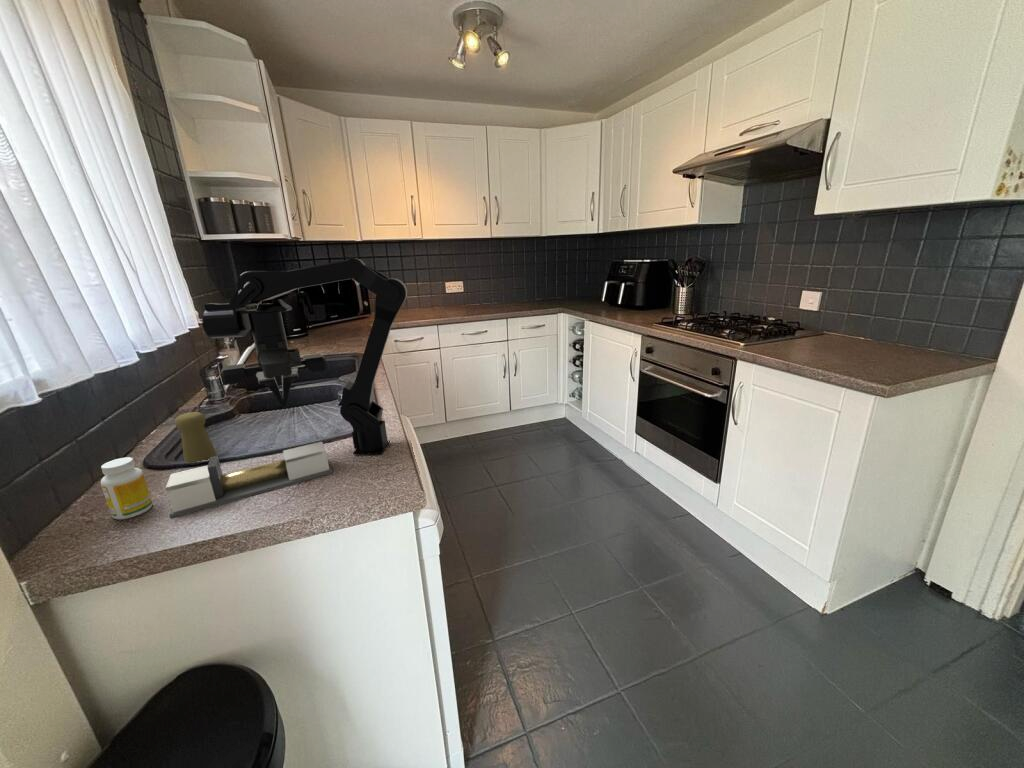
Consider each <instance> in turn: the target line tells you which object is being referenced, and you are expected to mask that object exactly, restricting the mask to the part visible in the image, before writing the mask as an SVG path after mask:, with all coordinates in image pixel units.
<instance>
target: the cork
mask: <svg viewBox="0 0 1024 768" xmlns="http://www.w3.org/2000/svg"><path fill="white" fill-rule="evenodd" d="M205 423H206V416H205V415H204V414H203V413H202V412H198V411H193V412H192V411H191V412H190V411H189V412H187V413H183V414H179V415H178V416H177V417H175V420H174V425H175V427H176V428H177V430H178V431H180V434H181V435H180V437H181V438H180V439H181V445H182V454H183V462H188V463H193V462H197V461H202V460H208V459H210V457H214V456H218V453H217V451H216V450H215V447H214V444H213V443H212V441H211V437H210V436H209V434H208V432H207V429H206V427H205ZM218 457H219V456H218Z"/></svg>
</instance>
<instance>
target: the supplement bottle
mask: <svg viewBox="0 0 1024 768" xmlns="http://www.w3.org/2000/svg"><path fill="white" fill-rule="evenodd" d="M135 465H136V463H135V461H134V458H133V457H129V456H127V457H126V456H125V457H119V458H116V459H113V460H110V461H107V462H105V463H103V464H102V465H101V466H100V468H101V471H102V474H103V477H102V478H101V480H100V486H101V489H102V491H103V494H104V497H105V500H106V504H107V506H108V509H109V512H110V514H111V517H112V518H113V519H115V520H127V519H130V518H134V517H137V516H139V515H143V514H144V513H146V512H148V511H149V510H150V509H151V508H152V506H153V501H152V500H153V499H152V497H151V493H150V491H149V486H148V484H147V481H146V478H145V474H144V472H143V470H142V469H140V468H138V467H135Z"/></svg>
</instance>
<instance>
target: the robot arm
mask: <svg viewBox="0 0 1024 768" xmlns="http://www.w3.org/2000/svg"><path fill="white" fill-rule="evenodd" d="M346 280H354V281H356V282H357V283H359V285H361V286H363V287H364V288H366V289H367V290H369V292H371V293H372V294H375V299H374V300H375V303H374V319H373V321H372V322H373V323H372V326H371V329H370V332H369V335H368V339H367V342H366V346H365V348H364V352H363V354H362V358H361V361H360V364H359V368H358V371H357V374H356V377H355V380H354V381H353V382H352V381H350V380H348V381H347V382H346V384H345V386H344V387H343V388H342V393H341V396H342V397H341V399H340V401H339V402H338V404H337V406H338V407H340V409H339V413H340V414H339V415H341V417H342V418H343V420H345V421H346V422H348V423H349V424H350V426H351V427H352V430H353V431H352V432H351V436H352V442H353V443H352V444H353V448H354V451H353V452H352V453H353V455H354V454H372V455H382V454H383V453H384V452H385V451H386V449H387V448H388V447H387V446H389V445H390V444H391V443H390V441H391V440H388V435H387V429H386V421H385V420H381V417H382V416H383V411H384V408H383V407H382V406H381V405H379V404H378V403H377V402H375V401H373V399H374V398H373V397H374V391H375V390H374V389H375V388H374V387H375V380H376V376H377V373H378V370H379V366H380V363H381V360H382V357H383V354H384V350H385V348H386V345H387V341H388V338H389V336H390V333H391V330H392V326H393V323H394V321H395V320H396V318H397V315H398V314H399V312H400V310H401V308H402V306H403V304H404V303H405V301H406V300H407V297H408V289H407V286H406V284H405V283H404V282H403V281H402V280H400V279H399V278H393V277H392V278H391V277H390V278H389V277H387V276H386V275H384V274H383V273H381V272H379V271H378V270H376V269H374V268H372V267H371V266H369V265H368V264H367V263H365V262H364V261H363V260H362V259H359V258H356V257H350V258H347V259H344V260H340V261H339V260H338V261H334V262H328V263H324V264H323V263H322V264H317V265H312V266H307V267H300V268H296V269H291V270H248V271H244V272H242V273H241V274H239V277H238V278H237V282H236V286H237V289H236V291H235V293H234V295H233V296H232V298H231V300H230V301H229V303H219V302H214V303H213V302H212V303H205V304H204V312H203V315H202V322H201V325H202V329H203V331H204V332H205V334H206V336H207V337H208V338H210V339H223V338H224V339H225V338H226V339H227V338H242V337H246V335H247V334H248V332H250V331H251V334H252V337H253V342H254V346H255V351H256V356H257V357H256V359H257V364H258V365H256V366H249V367H246V366H245V363H239V364H232V365H224V366H223V367H222V369H221V370H220V371H221V372H220V377H221V381H222V385H223V386H229V385H235V384H241V383H243V382H245V380H246V379H247V378H249V377H255V376H256V378H257V382H258V384H259V385H260V384H261V385H262V384H264V385H265V386H266V387H267V388H268V389H270V391H271V392H272V393H273V395H274V396H275V398H276V400H277V401H278V403H279V404H280V406H281V407H282V408H283V409H285V408H287V407H288V403H289V402H288V401H289V396H290V390H291V386H292V384H293V382H294V380H295V379H299V377H300V376H299V373H298V371H299V370H302V369H303V370H304V369H307V370H309V371H310V372H311V373H314V372H319V371H320V372H321V371H326V370H329V369H328V362H327V359H326V358H325V356H323V355H322V354H320V353H314V354H307V355H306V354H305V355H302V359H301V354H300V350H299V348H290V349H289V346H288V345H289V344H288V340H287V335H286V330H285V325H284V320H283V315H282V313H283V312H288V311H292V309H293V307H292V306H291V305H289V304H287V303H286V302H285V301H284V300H283V299H281V298H279V299H276V300H275V302H274V303H273V302H271V303H262V302H264V301H268V300H273V299H275V298H278V297H281V296H284V295H286V294H288V293H291V292H293V291H295V290H298V289H302V288H307V287H313V286H314V287H315V286H320V285H324V284H330V283H335V282H339V281H346ZM252 306H257V307H256V309H247V307H248V308H249V307H252ZM276 377H281V390H282V393H281V391H280V388H279V385H278V382H277V380H276ZM388 441H389V442H388ZM389 443H390V444H389ZM388 444H389V445H388ZM386 447H387V448H386ZM385 448H386V449H385ZM383 451H384V452H383Z"/></svg>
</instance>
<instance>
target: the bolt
mask: <svg viewBox="0 0 1024 768" xmlns="http://www.w3.org/2000/svg"><path fill="white" fill-rule="evenodd" d="M207 463H208V464H207V465H208V472H209V475H210V479H211V483H212V486H213V490H214V493H215V496H216V498H219V497H223V496H224V492H225V491H226V490H230V489H234V488H238V487H241V486H245V485H249V484H253V483H257V482H260V481H264V480H268V479H272V478H276V477H279V476H283V475H287V474H288V472H287V468H286V463H285V459H281V460H277V461H273V462H269V463H266V464H261V465H257V466H254V467H253V466H252V467H249V468H245V469H240V470H236V471H233V472H229V473H224V474H223V471H222V467H221V463H220V458H219V456H214V457H210V459H209V462H207Z"/></svg>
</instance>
